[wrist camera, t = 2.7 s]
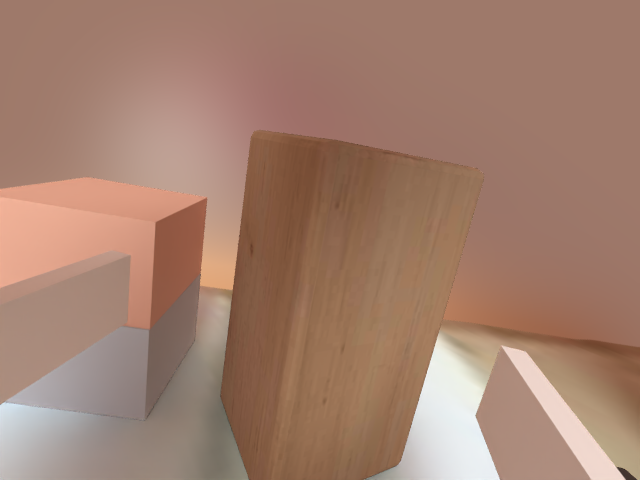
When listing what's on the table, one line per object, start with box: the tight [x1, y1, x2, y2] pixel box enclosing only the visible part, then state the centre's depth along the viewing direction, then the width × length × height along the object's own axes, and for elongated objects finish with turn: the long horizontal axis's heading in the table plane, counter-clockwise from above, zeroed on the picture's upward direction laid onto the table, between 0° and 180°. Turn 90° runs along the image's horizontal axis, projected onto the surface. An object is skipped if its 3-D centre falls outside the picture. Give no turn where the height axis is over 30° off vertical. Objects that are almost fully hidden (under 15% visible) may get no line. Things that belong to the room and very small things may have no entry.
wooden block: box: [220, 130, 484, 480], centre depth 22 cm, size 10×10×20 cm
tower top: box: [0, 177, 207, 330], centre depth 25 cm, size 10×10×7 cm
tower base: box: [5, 274, 201, 421], centre depth 27 cm, size 10×10×7 cm
